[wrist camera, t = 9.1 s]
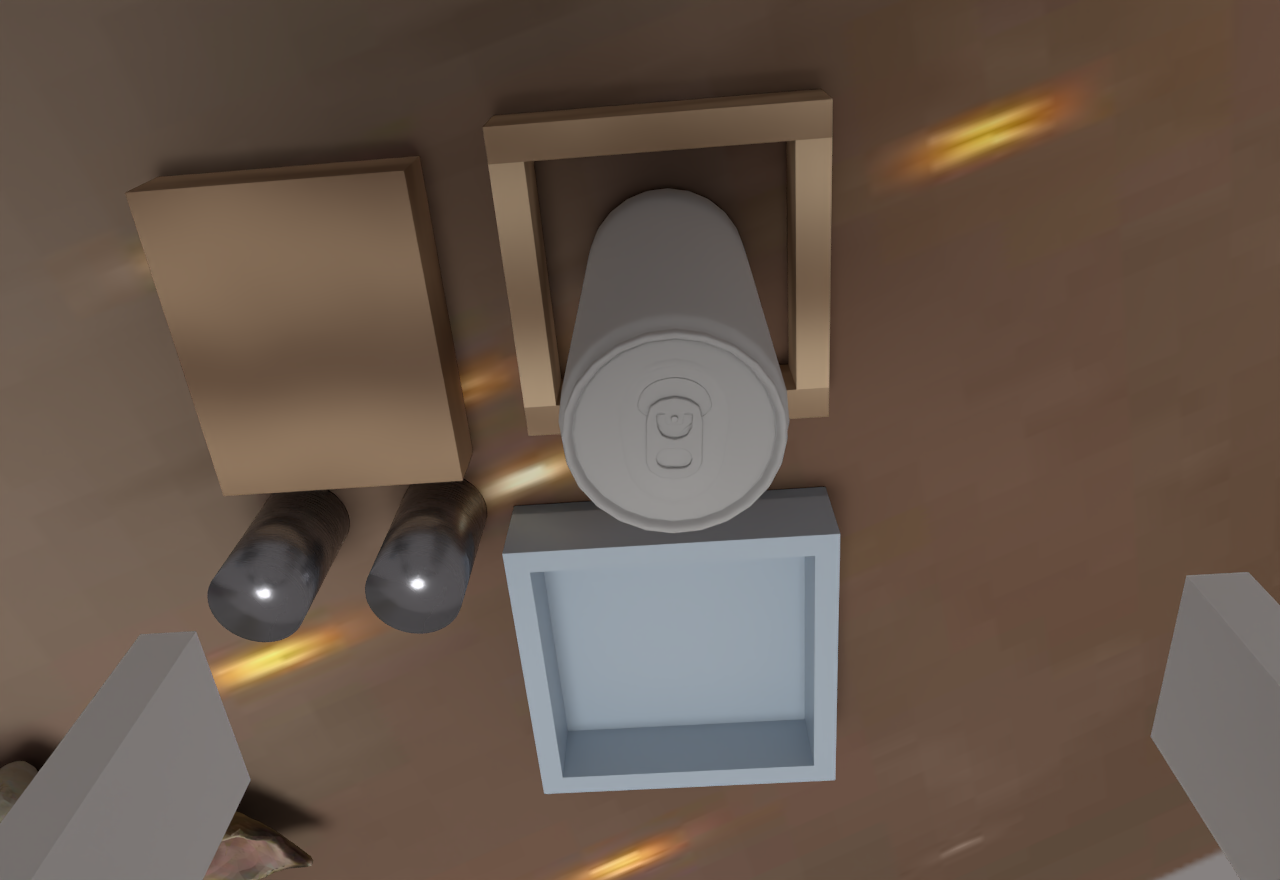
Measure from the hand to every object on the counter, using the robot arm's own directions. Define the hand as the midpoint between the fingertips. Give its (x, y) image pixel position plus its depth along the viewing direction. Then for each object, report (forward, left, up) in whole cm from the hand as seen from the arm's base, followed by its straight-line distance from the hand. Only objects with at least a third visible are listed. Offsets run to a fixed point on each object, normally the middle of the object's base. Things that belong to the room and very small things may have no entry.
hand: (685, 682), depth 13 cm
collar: (0, 0, -19) cm, 19 cm away
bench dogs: (+8, -11, -19) cm, 24 cm away
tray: (+14, -1, -19) cm, 24 cm away
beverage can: (0, 0, -19) cm, 19 cm away
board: (+1, -11, -20) cm, 23 cm away
